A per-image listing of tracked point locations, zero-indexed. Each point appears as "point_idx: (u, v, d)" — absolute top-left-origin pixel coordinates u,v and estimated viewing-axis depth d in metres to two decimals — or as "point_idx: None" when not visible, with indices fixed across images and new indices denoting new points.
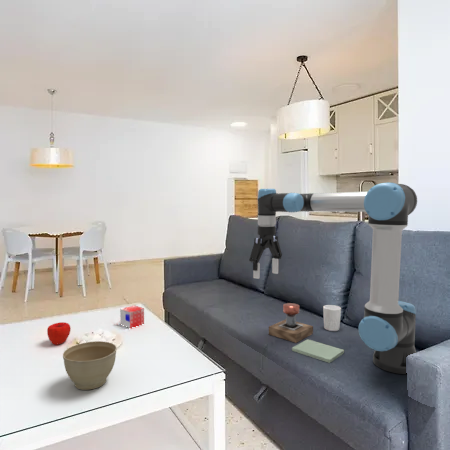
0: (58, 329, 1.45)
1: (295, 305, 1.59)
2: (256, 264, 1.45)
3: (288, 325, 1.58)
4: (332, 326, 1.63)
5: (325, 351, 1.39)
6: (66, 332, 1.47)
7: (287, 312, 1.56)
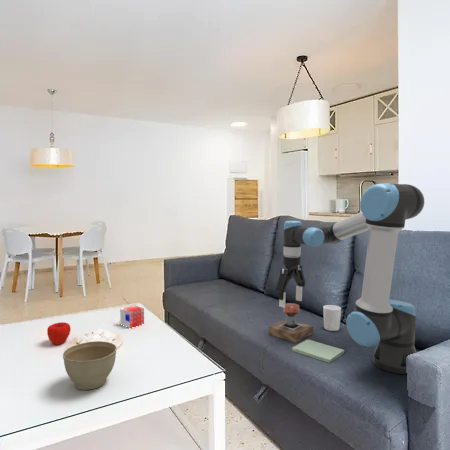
0: (58, 329, 1.45)
1: (295, 305, 1.59)
2: (282, 294, 1.52)
3: (288, 325, 1.58)
4: (332, 326, 1.63)
5: (325, 351, 1.39)
6: (66, 332, 1.47)
7: (287, 312, 1.56)
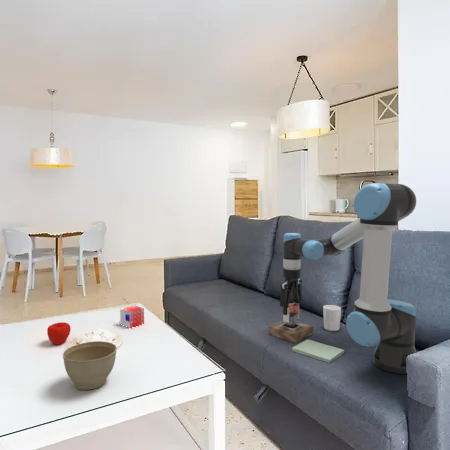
0: (58, 329, 1.45)
1: (295, 305, 1.59)
2: (286, 309, 1.55)
3: (288, 325, 1.58)
4: (332, 326, 1.63)
5: (325, 351, 1.39)
6: (66, 332, 1.47)
7: None
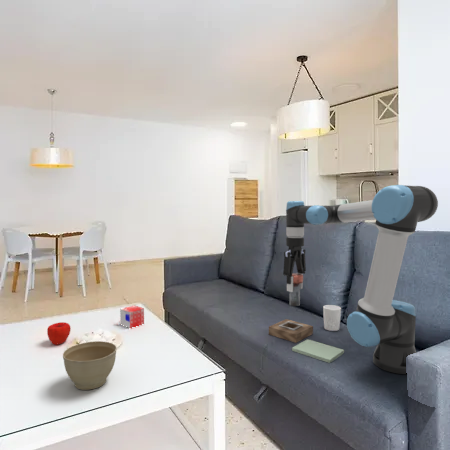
0: (58, 329, 1.45)
1: (299, 275, 1.55)
2: (290, 278, 1.52)
3: (292, 295, 1.54)
4: (332, 326, 1.63)
5: (325, 351, 1.39)
6: (66, 332, 1.47)
7: None
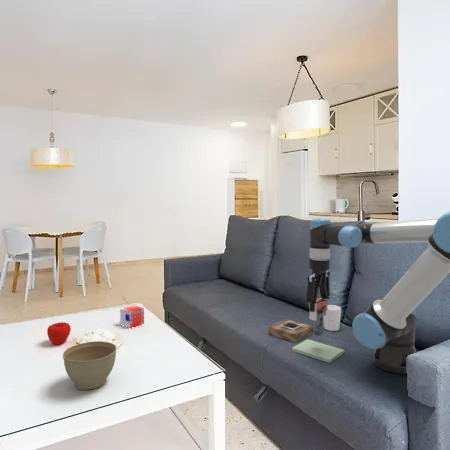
0: (58, 329, 1.45)
1: (323, 300, 1.39)
2: (313, 305, 1.36)
3: (315, 323, 1.39)
4: (332, 326, 1.63)
5: (325, 351, 1.39)
6: (66, 332, 1.47)
7: None
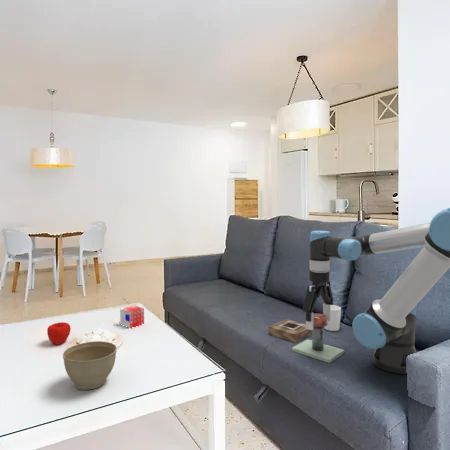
0: (58, 329, 1.45)
1: (323, 316, 1.40)
2: (310, 315, 1.34)
3: (315, 339, 1.39)
4: (332, 326, 1.63)
5: (325, 351, 1.39)
6: (66, 332, 1.47)
7: (314, 324, 1.37)
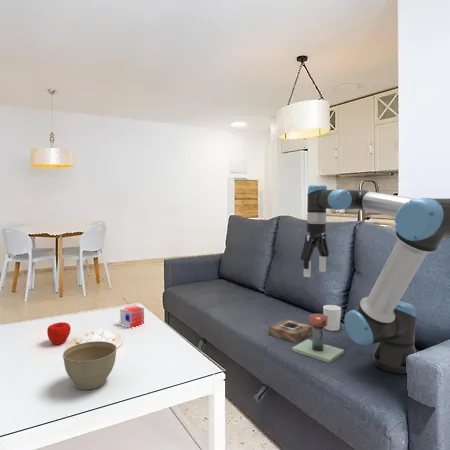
0: (58, 329, 1.45)
1: (323, 316, 1.40)
2: (307, 262, 1.42)
3: (315, 339, 1.39)
4: (332, 326, 1.63)
5: (325, 351, 1.39)
6: (66, 332, 1.47)
7: (314, 324, 1.37)
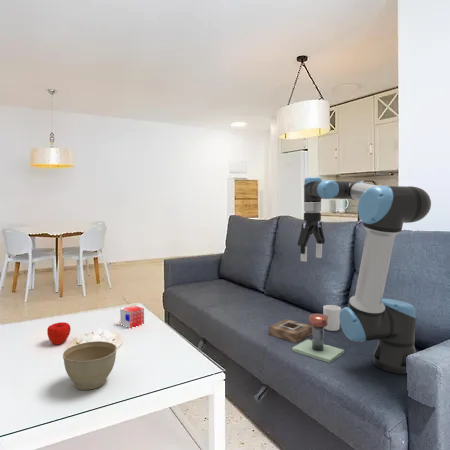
0: (58, 329, 1.45)
1: (323, 316, 1.40)
2: (304, 248, 1.56)
3: (315, 339, 1.39)
4: (332, 326, 1.63)
5: (325, 351, 1.39)
6: (66, 332, 1.47)
7: (314, 324, 1.37)
